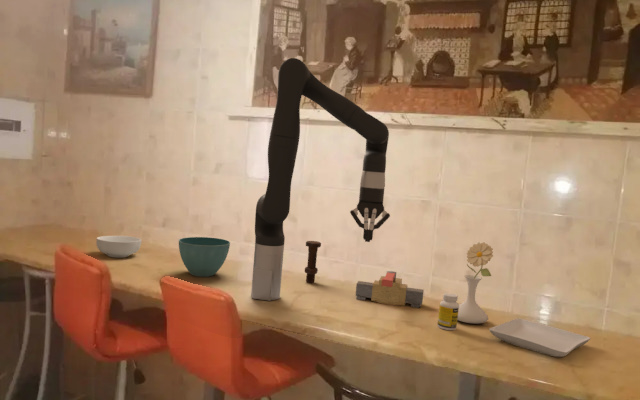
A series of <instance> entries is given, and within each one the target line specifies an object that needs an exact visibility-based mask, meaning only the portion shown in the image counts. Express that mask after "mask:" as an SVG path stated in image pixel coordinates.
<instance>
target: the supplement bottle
mask: <svg viewBox="0 0 640 400" xmlns="http://www.w3.org/2000/svg"><path fill="white" fill-rule="evenodd" d="M442 299H443V300H441V301H440V303H439V310H438V318H437V327H438V328H439V329H442V330H447V331H455V330H456V329H457V325H458V320H457V318H458V310H459V305H460V303H458V295H457V294H455V293H449V292H445V293H443V296H442Z"/></svg>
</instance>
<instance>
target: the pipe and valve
mask: <svg viewBox="0 0 640 400" xmlns="http://www.w3.org/2000/svg"><path fill="white" fill-rule="evenodd" d="M383 278H385V276H384V275H381V276H380V278H379V280H376V279H375V280H374V281H373V282H370V281H361V280H358V281H357V282H356V287H355V297H356V300H359V301H366V300H367V298H369V299H371V300H370V301H371V302H376V303H379V304H385V305H391V306H392V305H393V306H403V307H405V306H406V304H410V307H411V308H416V309H421V306H422V305H423V302H424V301H423V299H424V290H425V289H424V288H423V289H421V288H414V287H408V284H405V283H403V278H399V277H396V280H393V285H392V287H387V286H381V285H382V279H383Z"/></svg>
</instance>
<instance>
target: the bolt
mask: <svg viewBox="0 0 640 400" xmlns="http://www.w3.org/2000/svg"><path fill="white" fill-rule="evenodd" d="M321 246H322V243H321V242H320V241H316V240H307V241H306V242H305V247H308V250H307V251H308V253H307V254H308V255H307V266H305V268H304V273H305V274H306V278H305V282H306V283H307V284H308V283H309V284H314V283H315V279H316V278H315V277H316V275H317V273H319V272H318V271H319V270H318V268H317V255H318V249H319V248H321Z"/></svg>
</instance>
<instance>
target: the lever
mask: <svg viewBox="0 0 640 400" xmlns="http://www.w3.org/2000/svg"><path fill="white" fill-rule="evenodd" d="M384 277H385V278H383V279H382V285H381V286H387V287H392V285H393V280H396V278H397V271H392V270H386V273H385V276H384Z"/></svg>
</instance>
